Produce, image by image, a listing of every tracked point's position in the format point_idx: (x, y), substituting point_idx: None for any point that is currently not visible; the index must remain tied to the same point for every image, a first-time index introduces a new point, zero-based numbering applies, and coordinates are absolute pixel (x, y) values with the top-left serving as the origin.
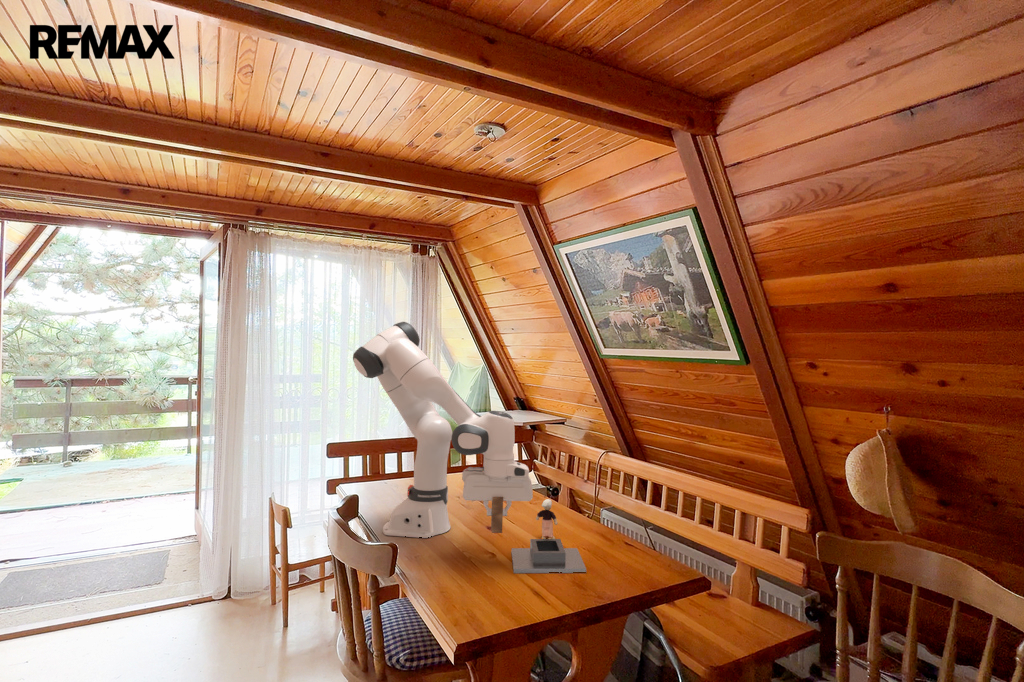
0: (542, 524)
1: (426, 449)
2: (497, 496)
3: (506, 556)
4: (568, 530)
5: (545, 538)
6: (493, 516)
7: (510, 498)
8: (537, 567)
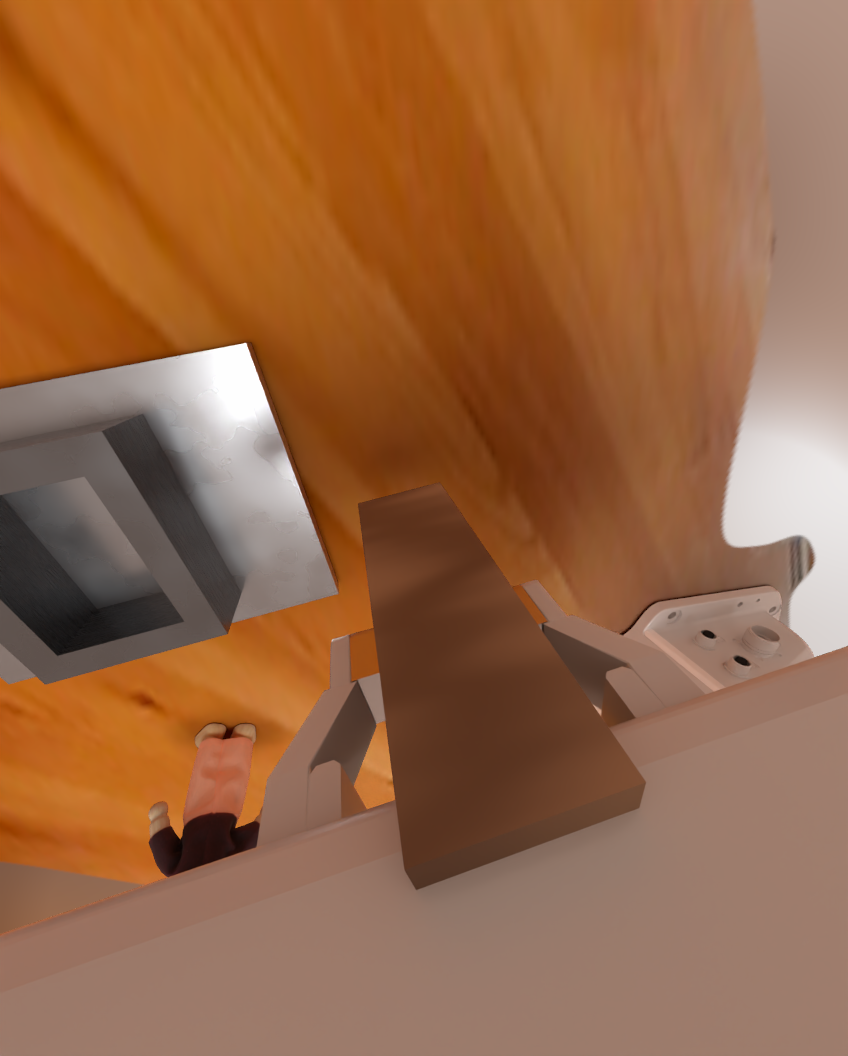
0: (242, 787)
1: None
2: (544, 858)
3: (349, 538)
4: (176, 809)
5: (235, 728)
6: (470, 554)
7: (244, 908)
8: (103, 392)
